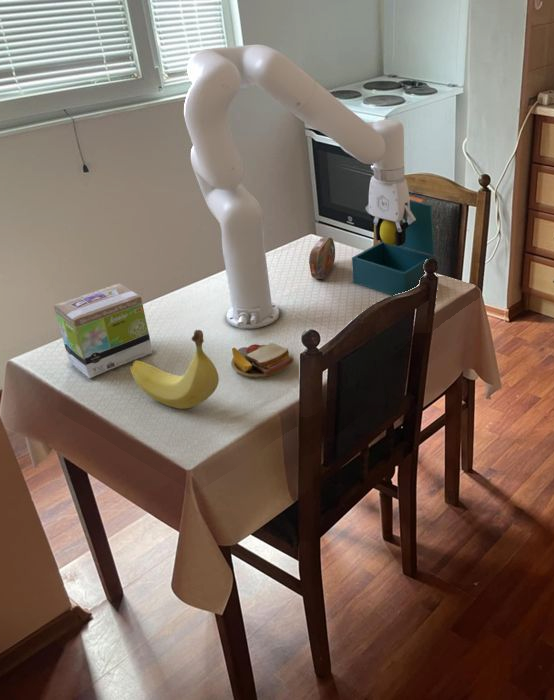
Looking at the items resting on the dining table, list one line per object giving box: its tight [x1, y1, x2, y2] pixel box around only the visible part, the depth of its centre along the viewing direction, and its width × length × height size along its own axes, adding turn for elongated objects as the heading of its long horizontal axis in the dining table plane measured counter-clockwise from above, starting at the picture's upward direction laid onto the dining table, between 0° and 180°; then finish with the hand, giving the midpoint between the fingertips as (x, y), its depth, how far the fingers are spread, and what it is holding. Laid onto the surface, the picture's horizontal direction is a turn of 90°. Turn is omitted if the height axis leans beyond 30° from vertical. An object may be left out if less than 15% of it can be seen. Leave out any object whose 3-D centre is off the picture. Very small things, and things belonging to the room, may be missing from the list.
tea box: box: [53, 282, 153, 379], centre depth 157 cm, size 15×10×15 cm
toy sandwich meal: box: [230, 342, 294, 379], centre depth 157 cm, size 12×14×5 cm
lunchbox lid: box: [384, 195, 436, 256], centre depth 190 cm, size 14×17×6 cm
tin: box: [308, 237, 336, 280], centre depth 196 cm, size 15×3×8 cm, turn 168°
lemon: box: [380, 220, 398, 246], centre depth 184 cm, size 6×6×8 cm
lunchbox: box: [351, 240, 435, 296], centre depth 191 cm, size 13×17×7 cm
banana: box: [129, 329, 220, 409], centre depth 141 cm, size 23×6×20 cm, turn 62°
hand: (390, 240), depth 186 cm, fingers closed on lemon, 5 cm apart
